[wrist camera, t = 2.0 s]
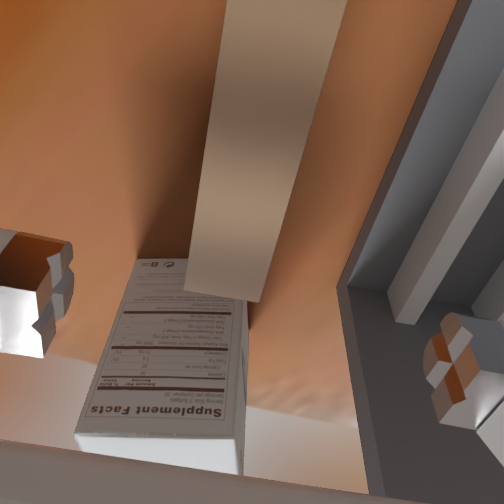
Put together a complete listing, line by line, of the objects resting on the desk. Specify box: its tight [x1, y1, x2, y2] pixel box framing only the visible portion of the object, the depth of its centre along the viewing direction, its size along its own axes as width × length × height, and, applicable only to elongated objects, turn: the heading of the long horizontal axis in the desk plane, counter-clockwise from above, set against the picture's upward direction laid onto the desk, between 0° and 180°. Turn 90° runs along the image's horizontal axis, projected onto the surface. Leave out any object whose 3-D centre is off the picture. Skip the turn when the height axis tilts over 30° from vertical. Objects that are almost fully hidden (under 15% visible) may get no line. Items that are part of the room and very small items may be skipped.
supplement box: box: [74, 258, 249, 476], centre depth 27 cm, size 7×7×13 cm
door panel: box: [184, 0, 347, 303], centre depth 19 cm, size 12×3×10 cm, turn 169°
